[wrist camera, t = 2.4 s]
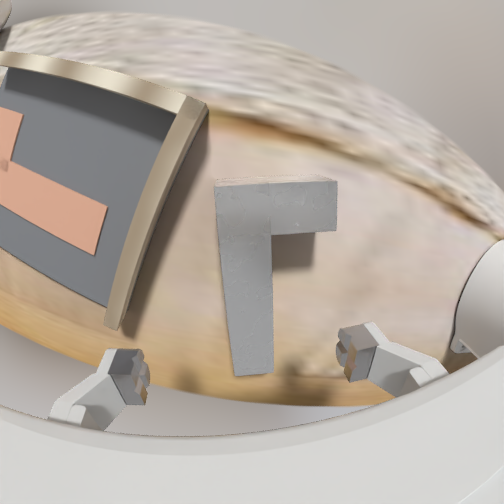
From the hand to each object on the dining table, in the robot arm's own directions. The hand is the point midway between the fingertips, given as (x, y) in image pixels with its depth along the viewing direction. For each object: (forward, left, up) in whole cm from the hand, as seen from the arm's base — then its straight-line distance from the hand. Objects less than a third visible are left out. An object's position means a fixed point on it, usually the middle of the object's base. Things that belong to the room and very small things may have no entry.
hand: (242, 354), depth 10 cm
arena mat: (+16, 0, -11) cm, 19 cm away
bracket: (-3, 0, -11) cm, 11 cm away
